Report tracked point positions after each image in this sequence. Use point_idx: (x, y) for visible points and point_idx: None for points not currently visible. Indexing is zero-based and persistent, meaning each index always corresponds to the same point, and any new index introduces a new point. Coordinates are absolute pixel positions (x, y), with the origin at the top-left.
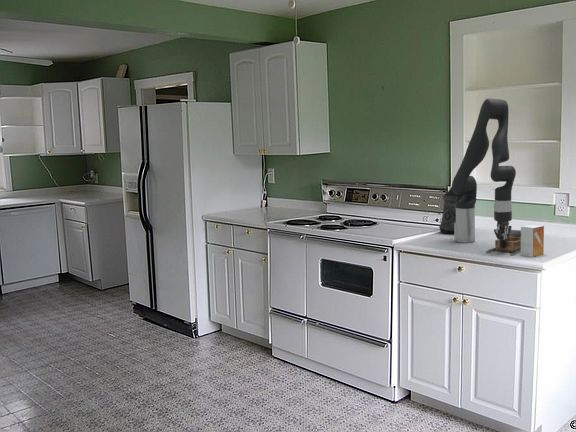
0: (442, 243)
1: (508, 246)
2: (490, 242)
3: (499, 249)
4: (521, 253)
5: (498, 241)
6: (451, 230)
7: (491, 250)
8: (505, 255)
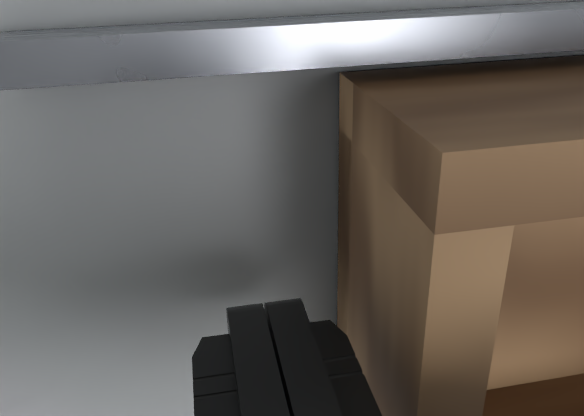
0: None
1: None
2: None
3: (348, 179)
4: None
5: (417, 245)
6: None
7: (194, 71)
8: (96, 398)
